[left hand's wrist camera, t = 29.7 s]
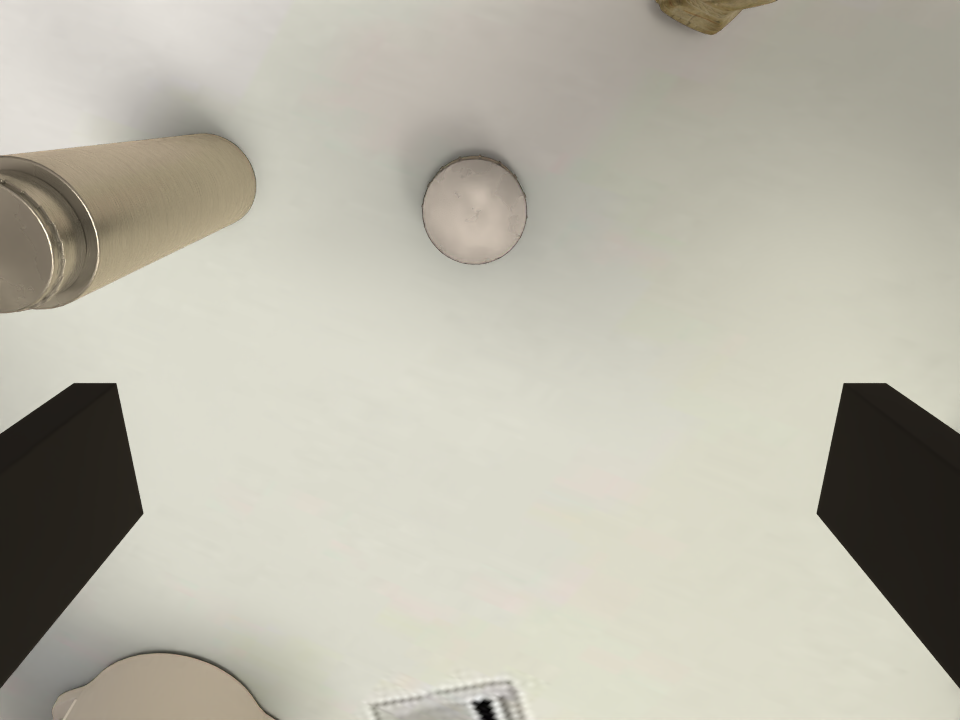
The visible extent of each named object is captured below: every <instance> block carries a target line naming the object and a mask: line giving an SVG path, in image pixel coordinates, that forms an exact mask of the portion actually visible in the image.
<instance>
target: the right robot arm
mask: <svg viewBox="0 0 960 720" xmlns="http://www.w3.org/2000/svg"><path fill="white" fill-rule="evenodd" d="M52 715H53V719H54V720H275V719H273V718H272V717H270V716H269V715H267V714H266V713H265V712H264V711H263V710H262V709H261V708H260V707H259V706H258V704H257V703H256V701H255V700H254V698H253V697H252V695H251V694H250V693H249V692H248V690H247V689H246V688H245V687H244V686H243V685H242V684H241V683H240V682H238V681H237V680H236V679H235V678H233V677H232V676H231V675H229V674H228V673H226V672H225V671H223V670H221V669H219V668H218V667H216V666H213V665H211V664H209V663H207V662H204V661H201V660H198V659H195V658H192V657H187V656H183V655H177V654H167V653H151V654H142V655H137V656H132V657H129V658H126V659H123V660H120V661H118V662H116V663H114V664H112V665H111V666H109V667H107V668H106V669H105V670H103V671H102V672H101V673H100V674H99V675H98V676H97V677H96V678H95V679H94V680H93V681H91V682H90V683H89V684H87V685H86V686H83V687H79V688H76V689H73V690H70V691H68V692H65V693H63V694H62V695H60V696H59V697H58V699H57V701H56V703H55V704H54V706H53V708H52Z"/></svg>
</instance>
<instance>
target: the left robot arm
mask: <svg viewBox="0 0 960 720" xmlns="http://www.w3.org/2000/svg"><path fill="white" fill-rule="evenodd" d="M142 515H143V509H142V504H141V499H140V495H139V490H138V485H137V480H136V475H135V471H134V466H133V461H132V456H131V451H130V447H129V442H128V437H127V432H126V427H125V423H124V418H123V413H122V408H121V403H120V399H119V394H118V389H117V384H116V383H73V384H72V385H71V386H69V387H68V388H66V389H65V390H63V391H62V392H60V393H59V394H58V395H56V396H55V397H53V398H52V399H50V400H49V401H47V402H46V403H44V404H43V405H42V406H40V407H39V408H37V409H36V410H34V411H33V412H31V413H30V414H29V415H27V416H26V417H24V418H23V419H21V420H20V421H18V422H17V423H16V424H14V425H13V426H11V427H10V428H8V429H7V430H5V431H4V432H2V433H1V434H0V688H1V687H2V686H3V684H4V683H5V682H6V681H7V680H8V678H9V677H10V676H11V675H12V673H13V672H14V671H15V670H16V669H17V667H18V666H19V665H20V664H21V662H22V661H23V660H24V659H25V658H26V656H27V655H28V654H29V653H30V651H31V650H32V649H33V648H34V647H35V645H36V644H37V643H38V642H39V640H40V639H41V638H42V637H43V636H44V634H45V633H46V632H47V631H48V629H49V628H50V627H51V626H52V625H53V623H54V622H55V621H56V620H57V619H58V617H59V616H60V615H61V614H62V612H63V611H64V610H65V609H66V608H67V606H68V605H69V604H70V603H71V601H72V600H73V599H74V598H75V597H76V595H77V594H78V593H79V592H80V590H81V589H82V588H83V587H84V586H85V584H86V583H87V582H88V581H89V579H90V578H91V577H92V576H93V575H94V573H95V572H96V571H97V570H98V568H99V567H100V566H101V565H102V564H103V562H104V561H105V560H106V559H107V557H108V556H109V555H110V554H111V553H112V551H113V550H114V549H115V548H116V546H117V545H118V544H119V543H120V542H121V540H122V539H123V538H124V537H125V536H126V534H127V533H128V532H129V531H130V529H131V528H132V527H133V526H134V525H135V523H136V522H137V521H138V520H139V518H140V517H141V516H142ZM817 515H818V516H819V517H820V518H821V520H822V521H823V522H824V523H825V525H826V526H827V527H828V528H829V529H830V531H831V532H832V533H833V534H834V536H835V537H836V538H837V539H838V540H839V542H840V543H841V544H842V545H843V546H844V548H845V549H846V550H847V551H848V553H849V554H850V555H851V556H852V557H853V559H854V560H855V561H856V562H857V564H858V565H859V566H860V567H861V568H862V570H863V571H864V572H865V573H866V575H867V576H868V577H869V578H870V579H871V581H872V582H873V583H874V584H875V586H876V587H877V588H878V589H879V590H880V592H881V593H882V594H883V595H884V597H885V598H886V599H887V600H888V601H889V603H890V604H891V605H892V606H893V608H894V609H895V610H896V611H897V612H898V614H899V615H900V616H901V617H902V619H903V620H904V621H905V622H906V623H907V625H908V626H909V627H910V628H911V629H912V631H913V632H914V633H915V634H916V636H917V637H918V638H919V639H920V640H921V642H922V643H923V644H924V645H925V647H926V648H927V649H928V650H929V651H930V653H931V654H932V655H933V656H934V658H935V659H936V660H937V661H938V662H939V664H940V665H941V666H942V667H943V669H944V670H945V671H946V672H947V673H948V675H949V676H950V677H951V678H952V680H953V681H954V682H955V683H956V684H957V686H958V687H959V688H960V434H959V433H958V432H956V431H955V430H953V429H952V428H950V427H949V426H947V425H946V424H944V423H943V422H942V421H940V420H939V419H937V418H936V417H934V416H933V415H931V414H930V413H929V412H927V411H926V410H924V409H923V408H921V407H920V406H918V405H917V404H916V403H914V402H913V401H911V400H910V399H908V398H907V397H905V396H904V395H902V394H901V393H900V392H898V391H897V390H895V389H894V388H892V387H891V386H889V385H888V384H887V383H844V384H843V389H842V394H841V399H840V403H839V408H838V413H837V418H836V423H835V427H834V432H833V437H832V442H831V447H830V451H829V456H828V461H827V466H826V471H825V475H824V480H823V485H822V490H821V495H820V499H819V504H818V509H817Z"/></svg>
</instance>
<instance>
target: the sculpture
mask: <svg viewBox="0 0 960 720" xmlns="http://www.w3.org/2000/svg"><path fill="white" fill-rule="evenodd" d="M655 1H656V2H657V3H658V4H660V8H661V10H662V11H663V12H664V13H665V14H667V15H668V16H670V17H671V18H673V19H675V20H677V21H678V22H680V23H682V24H684V25H686V26H688V27H690V28H692V29H694V30H697V31H699V32H702V33H705V34H709V35H713V34H716V33H717V32H719V31H720V30H722V29H723V28H724V27H725V26H726V25H727V24H728V23H729V22H730V21H732V20H733V19H734V18H735V17H736V16H737V15H738V14H739V13H740V12H741V10H742V9H746V8H751V7H756V6H760V5H765V4H769V3H772V2H775V1H777V0H655Z"/></svg>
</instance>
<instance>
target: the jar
mask: <svg viewBox="0 0 960 720" xmlns="http://www.w3.org/2000/svg"><path fill="white" fill-rule="evenodd" d="M255 192H256V182H255V176H254V172H253V169H252V166H251V164H250V162H249V161H248V159H247V157H246V156H245V155H244V153H243V152H242V151H241V150H240V149H239V148H238V147H237V146H236V145H234V144H233V143H232V142H230V141H228V140H227V139H225V138H222V137H220V136H217V135H213V134H192V135H183V136H174V137H165V138H156V139H147V140H138V141H128V142H119V143H110V144H101V145H92V146H83V147H74V148H65V149H56V150H47V151H38V152H28V153H19V154H10V155H1V156H0V313H12V312H19V311H24V310H29V309H52V308H57V307H60V306H64V305H66V304H68V303H71V302H73V301H75V300H77V299H79V298H81V297H83V296H85V295H87V294H89V293H91V292H93V291H95V290H97V289H99V288H102V287H104V286H106V285H108V284H110V283H112V282H114V281H116V280H118V279H120V278H122V277H124V276H126V275H128V274H130V273H132V272H134V271H136V270H138V269H140V268H143V267H145V266H147V265H149V264H151V263H153V262H155V261H157V260H159V259H161V258H163V257H165V256H167V255H169V254H171V253H173V252H175V251H177V250H179V249H181V248H184V247H186V246H188V245H190V244H192V243H194V242H196V241H198V240H200V239H202V238H204V237H206V236H208V235H210V234H212V233H214V232H216V231H218V230H220V229H222V228H225V227H227V226H229V225H231V224H233V223H235V222H236V221H238V220H240V219H241V218H242V217H243V216H244V215H245V214H246V213H247V212H248V211H249V209H250V207H251V205H252V203H253V201H254V197H255Z"/></svg>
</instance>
